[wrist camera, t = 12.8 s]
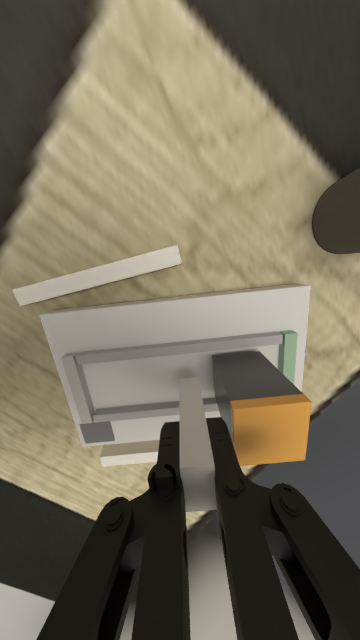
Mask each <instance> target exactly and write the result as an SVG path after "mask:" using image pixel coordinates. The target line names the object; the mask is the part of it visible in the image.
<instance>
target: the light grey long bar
mask: <svg viewBox="0 0 360 640" xmlns="http://www.w3.org/2000/svg"><path fill="white" fill-rule="evenodd" d="M158 449H159V440H152V441H141V442H130V443H120V444H109V445H105V446H104V448H103V450H102V453H101V455H100V460H101V463H102V467H103V466H114V465H125V464H136V463H147V462H157V458H158Z"/></svg>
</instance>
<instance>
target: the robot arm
mask: <svg viewBox="0 0 360 640" xmlns="http://www.w3.org/2000/svg"><path fill="white" fill-rule="evenodd" d="M148 483H149V489H148V490H147V491H146V492H145V493H144V494H142V495H141V496H139V497H137V498H135V499H133V500H131V501H128V499H126V498H124V497H117V498H115V499H113V500H111V501H110V502H109V503H107V504H106V505H105V506H104V508H103V510H102V511H101V513H100V514H99V516H98V518H97V520H96V522H95V524H94V526H93V528H92V530H91V532H90V534H89V536H88V538H87V540H86V542H85V544H84V546H83V548H82V550H81V552H80V554H79V556H78V558H77V560H76V562H75V564H74V566H73V568H72V570H71V572H70V574H69V576H68V578H67V580H66V582H65V584H64V586H63V588H62V590H61V592H60V594H59V596H58V598H57V600H56V602H55V604H54V606H53V608H52V610H51V612H50V614H49V616H48V618H47V620H46V622H45V624H44V626H43V628H42V630H41V632H40V634H39V636H38V638H37V640H119V639H120V636H121V632H122V628H123V625H124V621H125V618H126V614H127V610H128V607H129V603H130V600H131V596H132V593H133V589H134V586H135V582H136V578H137V575H138V571H139V568H140V566H141V570H140V578H139V586H138V593H137V601H136V609H135V617H134V625H133V632H132V640H190V612H189V581H188V550H187V528H186V512H191V511H204V510H217V509H218V515H219V523H220V538H221V539H222V545H223V551H224V558H225V564H226V570H227V577H228V583H229V589H230V596H231V601H232V608H233V615H234V621H235V627H236V633H237V640H299V639H298V636H297V632H296V630H295V626H294V623H293V620H292V617H291V614H290V611H289V608H288V605H287V602H286V599H285V596H284V593H283V589H282V586H281V583H280V580H279V577H278V574H277V571H276V568H275V565H274V562H273V559H272V556H271V555H273V556H274V557H275V559H276V561H277V563H278V565H279V567H280V569H281V571H282V573H283V575H284V577H285V579H286V581H287V583H288V585H289V587H290V589H291V591H292V593H293V595H294V597H295V599H296V601H297V603H298V605H299V607H300V609H301V611H302V614H303V616H304V618H305V619H306V622H307V624H308V625H309V628H310V630H311V632H312V634H313V636H314V638H315V640H360V569H359V568H358V566H357V565H356V564H355V562H354V561H353V560H352V559H351V557H350V556H349V555H348V553H347V552H346V551H345V549H344V548H343V547H342V546H341V544H340V543H339V542H338V540H337V539H336V538H335V536H334V535H333V534H332V533H331V531H330V530H329V529H328V527H327V526H326V525H325V523H324V522H323V521H322V520H321V518H320V517H319V516H318V514H317V513H316V512H315V511H314V509H313V508H312V506H311V505H310V504H309V503H308V501H307V500H306V499H305V497H304V496H303V495H302V494H301V493H300V492H299V491H298V490H297V489H295V488H293V487H292V486H290V485H287V484H283V483H282V484H276V485H275V486H274V487H273V488H272V489H269V488H266V487H262V486H259V485H257V484H254V483H253V482H251V481H250V480H249V479H248V478H247V477H246V476H245V475H244V474H243V472H242V470H241V468H240V465H239V462H238V459H237V456H236V453H235V449H234V446H233V443H232V440H231V437H230V433H229V430H228V427H227V424H226V422H225V421H224V420H223V419H222V418H221V417H214V418H206V416H205V411H204V406H203V400H202V395H201V389H200V384H199V378H198V377H193V378H182V379H179V421H175V422H165V423H164V425H163V427H162V428H161V432H160V440H159V449H158V458H157V464H156V465H155V466H153V468H152V469H151V471H150V472H149V476H148Z"/></svg>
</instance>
